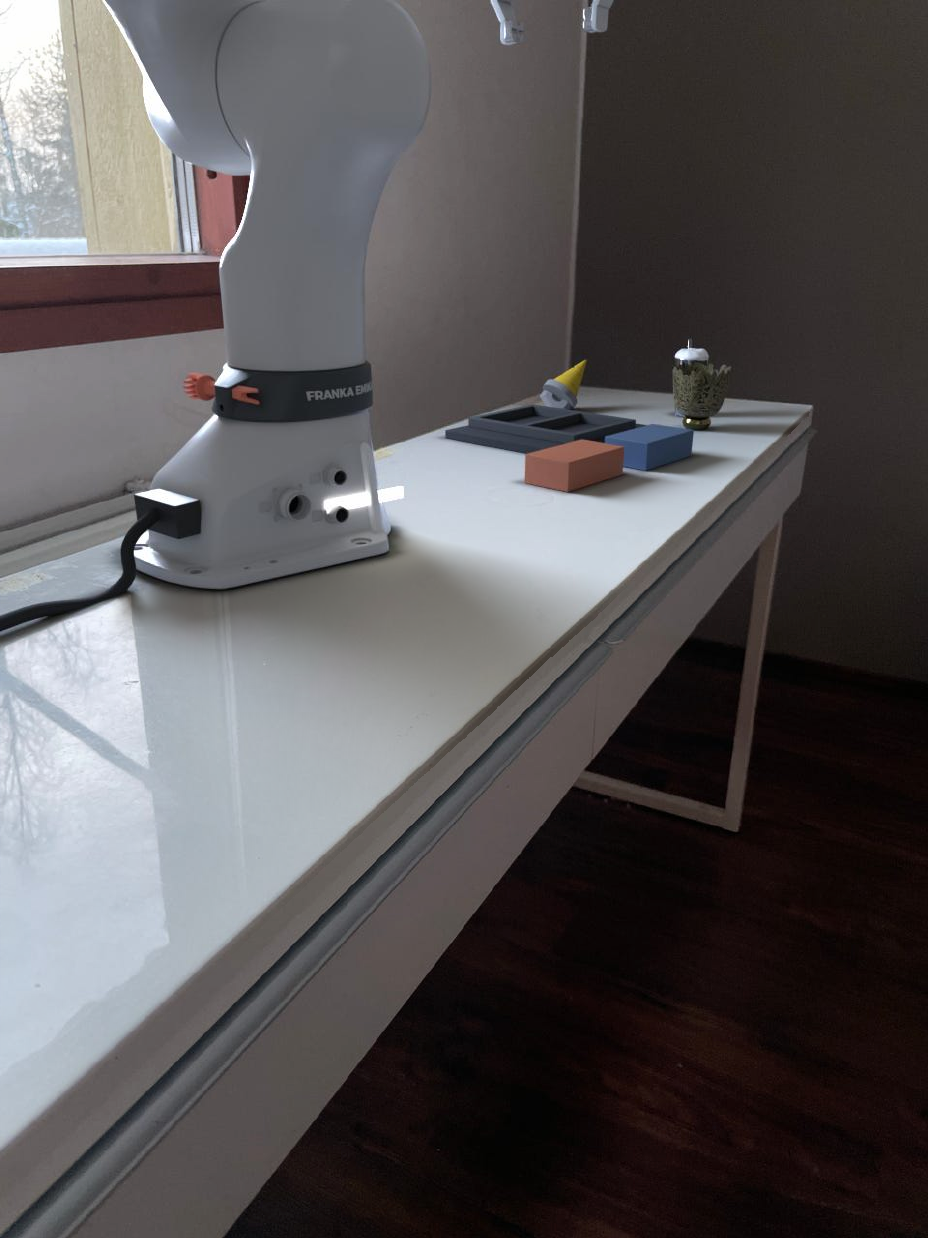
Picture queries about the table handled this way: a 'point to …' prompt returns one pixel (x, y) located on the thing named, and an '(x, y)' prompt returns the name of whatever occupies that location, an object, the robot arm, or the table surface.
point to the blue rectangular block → (653, 445)
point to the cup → (699, 393)
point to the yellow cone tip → (563, 388)
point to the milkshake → (690, 359)
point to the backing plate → (538, 428)
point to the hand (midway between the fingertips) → (552, 37)
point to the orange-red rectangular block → (574, 465)
